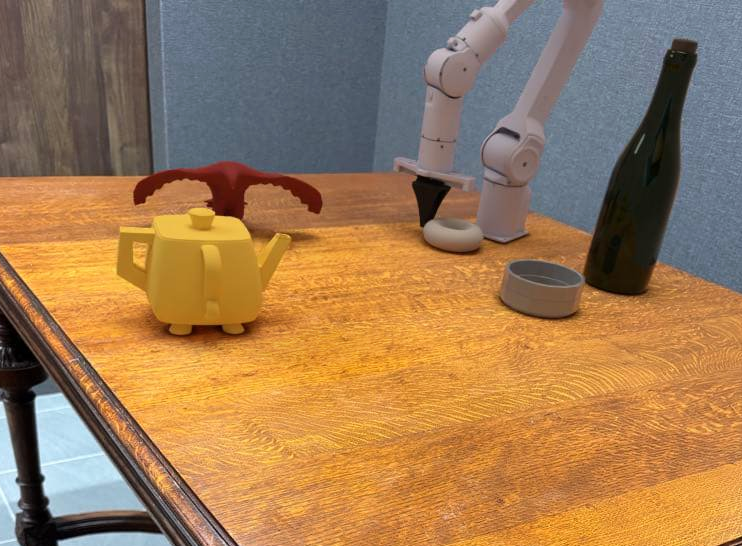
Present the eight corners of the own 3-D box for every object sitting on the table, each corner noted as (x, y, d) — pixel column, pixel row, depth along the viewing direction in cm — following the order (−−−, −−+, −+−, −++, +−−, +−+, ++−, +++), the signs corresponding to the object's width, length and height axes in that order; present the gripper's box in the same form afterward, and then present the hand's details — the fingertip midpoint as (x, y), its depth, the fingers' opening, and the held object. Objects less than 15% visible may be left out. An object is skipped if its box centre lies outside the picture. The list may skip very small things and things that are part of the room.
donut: (479, 259, 129) (483, 240, 137) (483, 238, 127) (487, 220, 135) (418, 249, 130) (425, 231, 138) (421, 227, 128) (428, 210, 136)
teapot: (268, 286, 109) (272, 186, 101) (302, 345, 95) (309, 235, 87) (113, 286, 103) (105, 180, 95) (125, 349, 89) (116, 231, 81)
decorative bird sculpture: (136, 251, 127) (132, 195, 112) (133, 196, 128) (129, 135, 114) (313, 257, 134) (331, 205, 120) (309, 205, 135) (325, 149, 121)
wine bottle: (568, 278, 126) (632, 31, 107) (602, 267, 133) (669, 33, 113) (626, 300, 121) (705, 45, 101) (659, 288, 128) (739, 46, 108)
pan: (521, 283, 122) (527, 253, 119) (589, 306, 117) (597, 276, 115) (484, 301, 114) (491, 269, 111) (556, 326, 110) (564, 293, 107)
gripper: (387, 130, 127) (376, 219, 136) (465, 151, 121) (449, 242, 130) (411, 126, 132) (400, 212, 140) (488, 146, 126) (471, 235, 134)
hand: (425, 226), depth 135 cm, fingers closed
